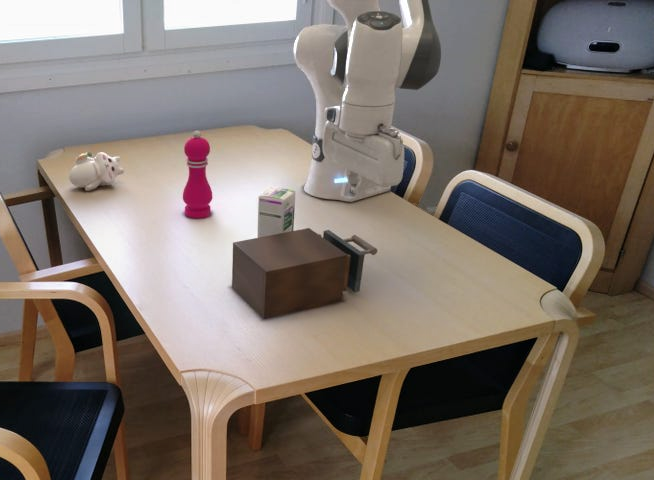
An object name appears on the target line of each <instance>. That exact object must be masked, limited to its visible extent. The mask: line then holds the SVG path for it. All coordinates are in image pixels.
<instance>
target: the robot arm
mask: <svg viewBox="0 0 654 480" xmlns="http://www.w3.org/2000/svg"><path fill="white" fill-rule="evenodd" d="M326 2H327V4H329V6H330V7H331V8H332V9H333V10H335V11H337V12H338V13H339V14H340V15H341V17H342V18H343V20H344V23H345V24H330V23H320V24H314V25H309V26H305V27H304V28H303V29H302V30H301V31H300V32H299V33H298V35H297V36H296V38H295V41H294V44H293V49H292V50H293V59H294V62H295V64H296V66H297V68H298V69H299V70H300V71H302V73H303V74H304V75H305V77H306V78H307V79H308V81H309V83H310V85H311V88H312V91H313V94H314V97H315V106H316V108H315V111H316V113H315V131H314V133H313V135H312V142H311V162H310V167H309V171H308V172H309V173H308V175H307V178H306V181H305V184H304V186H303V190H304V192H305V193H306V194H307V195H309V196H312V197H316V198H319V199H324V200H337V201H343V202H347V203H348V202H349V203H352V202H356V201H359V200H363V199H366V198H370V197H373V196H376V195H379V194H383V193H387V192H389V191H392V187H395V186H398V185H399V184H400V183H401V182H402V180H403V178H404V177H403V175H404V168H405V167H404V166H405V145H404V140H403V138H402V136H401V135H400V130H399V131H398V130H397V129H395V128H392V125H393V120H394V119H393V118H394V112H395V105H396V91H395V90H396V89H397V88H398V89H400V90H401V89H402V90H413V91H419V90H420V89H422V88H424V87H425V86H426V85H427V84H428V83H430V82H431V81H432V80H433V79H434V78H435V77H436V76H437V75H438V73H439V70H440V67H441V62H442V61H441V59H442V47H441V46H442V45H441V40H440V37H439V34H438V31H437V29H436V27H435V23H434V19H433V15H432V11H431V6H430V2H429V0H398V5H399V10H400V16H401V17H400V16H398V15H397V14H395V13H392V12H388V11H384V10H383V11H382V10H381V8H380V4H379V0H326Z"/></svg>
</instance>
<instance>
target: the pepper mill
mask: <svg viewBox="0 0 654 480" xmlns="http://www.w3.org/2000/svg"><path fill="white" fill-rule="evenodd" d="M201 135H202V133H201V131H199V130H194V132H193V133H192V137H191V138H189V139H188V140H186V141H185V143H184V148H183V151H184V155H185V156H186V157H187V158H186V166H187V167H188V177H187V181H186V184H185V186H184V188H183V192H182V201H183V202H184V204H185V206H184V215H185V216H186V217H188V218H191V219H203V218H207V217H209V216H210V215H211V204H210V203H211V202H212V201H213V190H212V187H211V185H210V182H209V181H208V177H207V166H208V165H209V162H208V161H209V159H208V158H207V157H208V156H209V155H210V152H211V146H210V143H209V141H208V140H207V139H206V138H204V137H202V136H201Z"/></svg>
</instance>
